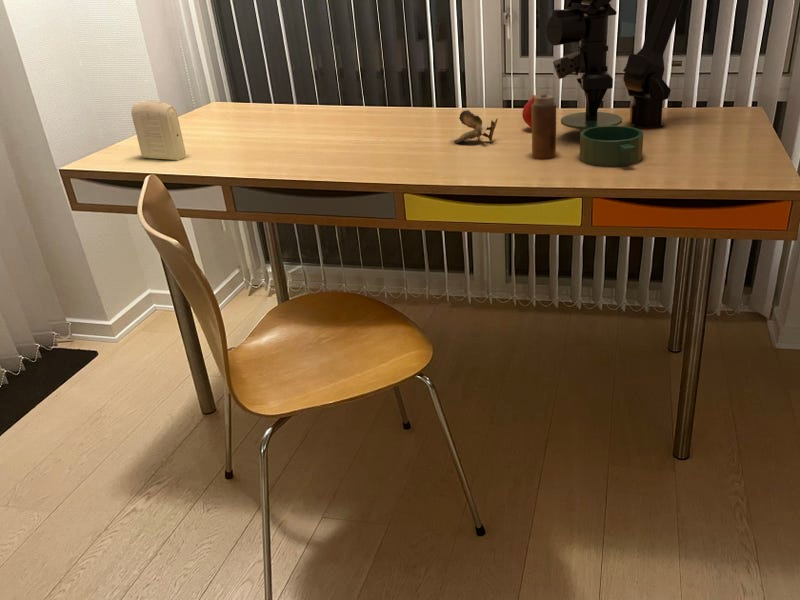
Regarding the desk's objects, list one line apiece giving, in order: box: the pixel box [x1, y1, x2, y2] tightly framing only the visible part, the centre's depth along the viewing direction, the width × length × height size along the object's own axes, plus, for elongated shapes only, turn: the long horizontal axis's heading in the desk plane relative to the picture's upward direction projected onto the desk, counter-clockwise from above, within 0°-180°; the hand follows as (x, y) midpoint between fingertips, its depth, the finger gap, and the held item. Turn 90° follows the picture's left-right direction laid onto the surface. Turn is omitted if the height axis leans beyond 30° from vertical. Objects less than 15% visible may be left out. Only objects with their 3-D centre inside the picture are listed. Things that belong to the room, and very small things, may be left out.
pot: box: [579, 125, 644, 167], centre depth 164 cm, size 13×18×5 cm
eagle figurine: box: [453, 109, 499, 144], centre depth 179 cm, size 8×7×9 cm
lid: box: [560, 96, 623, 131], centre depth 177 cm, size 14×14×6 cm
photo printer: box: [130, 100, 187, 161], centre depth 177 cm, size 10×4×12 cm, turn 72°
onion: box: [521, 94, 536, 129], centre depth 185 cm, size 6×6×8 cm
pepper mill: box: [531, 93, 557, 160], centre depth 166 cm, size 5×5×13 cm
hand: (591, 114), depth 178 cm, fingers closed on lid, 3 cm apart
